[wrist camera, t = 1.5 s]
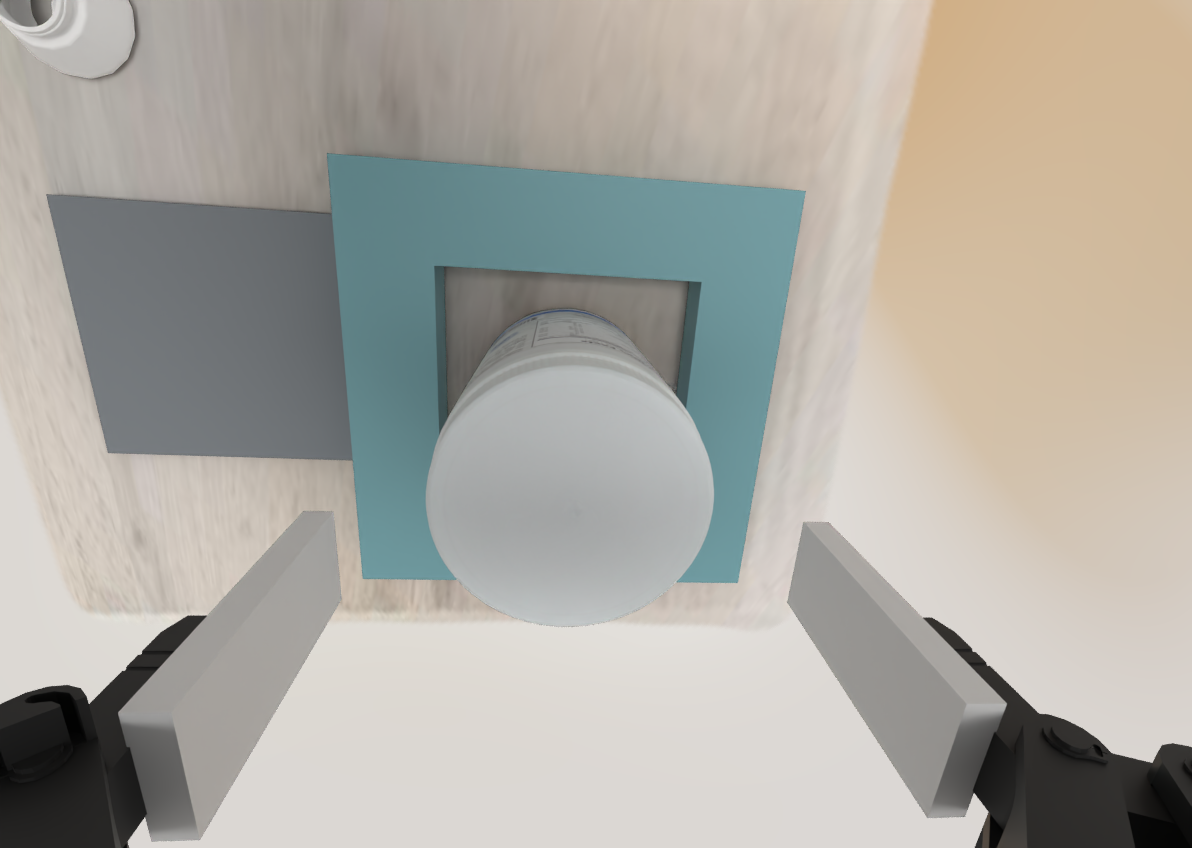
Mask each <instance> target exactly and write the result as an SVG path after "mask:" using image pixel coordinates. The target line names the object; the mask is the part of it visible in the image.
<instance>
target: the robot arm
mask: <svg viewBox="0 0 1192 848" xmlns="http://www.w3.org/2000/svg"><path fill="white" fill-rule="evenodd" d="M341 599H342V598H341V587H340V576H339V566H338V555H337V545H336V534H335V523H334V513H333V512H324V511H303V512H302V513H301V514H300V516H299V517H298V518H297V519H296V520H295V521H294V522H293V523H292V524H291V525H290V526H289V527H288V529H287V530H286V531H285V532H284V533H283V534H282V535H281V536H280V537H279V538H278V539H277V541H276V542H275V543H274V544H273V545H272V546H271V547H270V548H269V549H268V550H267V551H266V552H265V554H264V555H263V556H262V557H261V558H260V559H259V560H258V561H257V562H256V563H255V564H254V565H253V567H252V568H251V569H250V570H249V571H248V572H247V573H246V574H245V575H244V576H243V577H242V579H241V580H240V581H239V582H238V583H237V584H236V585H235V586H234V587H233V588H232V589H231V590H230V592H229V593H228V594H227V595H226V596H225V597H224V598H223V599H222V600H221V601H220V602H219V604H218V605H217V606H216V607H215V608H214V609H213V610H212V611H211V612H210V613H209V614H208V615H207V616H187V617H185V618H183V619H182V620H180V621H178V622H177V623H175V624H174V625H172V626H170V627H169V628H167V629H165V630H164V631H162V632H161V633H160V634H159V635H158V636H157V637H156V638H155V639H154V640H153V641H152V642H151V643H150V644H149V645H148V646H147V647H146V648H145V649H144V650H143V651H142V654H141V655H138V656H137V657H136V658H135V659H134V660H133V661H132V662H131V663H130V664H129V665H128V666H127V667H126V670H125V671H122V672H121V673H120V674H119V675H118V676H117V677H116V678H115V679H114V680H113V681H112V682H111V683H110V684H109V685H108V686H107V687H106V688H105V689H104V690H103V691H102V692H101V693H100V694H99V695H98V696H97V697H96V698H95V699H94V700H93V701H92V702H91V703H90V704H88V700H87V697H86V695H85V694H84V692H83V691H82V690H81V688H77V687H73V686H69V685H63V686H51V687H45V688H42V689H38V690H35V691H31V692H27V693H24V694H22V695H20V696H18V697H15V698H13V699H11V700H9V701H6V702H4V703H2V704H0V848H129V846H128V842H127V841H128V840H129V838H130V837H131V836H132V834H133V833H134V831H135V830H136V829H137V827H138V826H139V824H140V823H141V822H142V820H143V819H144V817H145V818H146V822H147V826H148V830H149V833H150V837H151V841H152V842H153V841H185V840H200V839H201V837H202V836H203V834H204V832H205V831H206V829H207V827H208V825H209V824H210V822H211V820H212V818H213V817H214V815H215V813H216V812H217V810H218V808H219V807H220V805H221V803H222V801H223V800H224V798H225V797H226V795H227V793H228V791H229V790H230V788H231V786H232V785H233V783H234V781H235V779H236V778H237V776H238V774H239V773H240V771H241V769H242V767H243V766H244V764H245V762H246V761H247V759H248V757H249V756H250V754H251V752H252V750H253V749H254V747H255V745H256V744H257V742H258V740H259V739H260V737H261V735H262V734H263V732H264V730H265V728H266V727H267V725H268V723H269V722H270V720H271V718H272V717H273V715H274V713H275V711H276V710H277V708H278V706H279V704H280V703H281V701H282V700H283V698H284V696H285V694H286V693H287V691H288V689H289V688H290V686H291V684H292V683H293V681H294V679H295V677H296V676H297V674H298V672H299V671H300V669H301V667H302V665H303V664H304V662H305V660H306V659H307V657H308V655H309V654H310V652H311V650H312V649H313V647H314V645H315V643H316V642H317V640H318V638H319V637H320V635H321V633H322V632H323V630H324V628H325V626H326V625H327V623H328V621H329V620H330V618H331V616H332V615H333V613H334V611H335V609H336V608H337V606H338V604H339V603H340V601H341ZM787 603H788V604H789V606H790V607H791V609H792V610H793V612H794V613H795V615H796V617H797V618H798V620H799V621H800V623H801V624H802V626H803V627H804V629H805V630H806V632H807V633H808V635H809V637H810V638H811V640H812V641H813V643H814V644H815V646H816V647H817V649H818V650H819V652H820V653H821V655H822V656H823V658H824V659H825V661H826V663H827V664H828V666H829V667H830V669H831V670H832V672H833V673H834V675H835V677H836V678H837V679H838V681H839V683H840V684H841V686H842V687H843V689H844V690H845V692H846V693H847V695H848V696H849V698H850V700H851V701H852V703H853V704H854V706H855V707H856V709H857V710H858V712H859V713H860V715H861V717H862V718H863V720H864V721H865V722H866V724H867V725H868V727H869V729H870V730H871V732H872V733H873V735H874V737H875V738H876V739H877V741H878V743H879V744H880V746H881V747H882V749H883V750H884V752H885V753H886V755H887V757H888V758H889V760H890V761H891V763H892V764H893V766H894V767H895V769H896V770H897V772H898V773H899V775H900V777H901V778H902V780H903V781H904V783H905V784H906V786H907V787H908V789H909V790H910V792H911V793H912V795H913V797H914V798H915V800H916V801H917V803H918V804H919V806H920V807H921V809H922V810H923V812H924V813H925V815H926V816H927V818H942V817H965V815H966V812H967V810H968V807H969V804H970V802H971V799H972V796H973V794H974V793H975V794H976V796H977V797H978V798H979V800H980V801H981V802H982V804H983V805H984V806H985V808H986V809H987V810H988V811H989V813H988V815H987V818H986V821H985V823H984V826H983V828H982V831H981V833H980V836H979V838H978V841H977V843H976V846H975V848H1192V747H1189V746H1183V745H1178V744H1173V743H1172V744H1166V745H1162V746H1161V748H1160V750H1159V751H1158V753H1157V755H1156V757H1155V759H1154V761H1153V763H1150V762H1146V761H1141V760H1137V759H1133V758H1129V757H1125V756H1120V755H1116V754H1112V753H1111V752H1110V751H1109V750H1108V749H1107V748H1106V747H1105V746H1104V745H1103V744H1102V743H1101V742H1100V741H1099V740H1098V739H1097V738H1095V737H1094V736H1092V735H1091V734H1089V733H1088V732H1087V731H1085V730H1084V729H1083V728H1081V727H1079V726H1076V725H1075V724H1072V723H1071V722H1069V721H1066V720H1064V719H1061V718H1058V717H1055V716H1052V715H1048V714H1039V713H1037V711H1036V710H1035V709H1033V707H1032V706H1030V705H1029V704H1028V703H1027V702H1026V701H1025V700H1024V699H1023V698H1022V697H1021V696H1020V695H1019V694H1018V693H1017V692H1016V691H1015V690H1014V689H1013V688H1012V687H1011V686H1010V685H1009V684H1008V683H1007V682H1006V681H1005V680H1004V679H1003V678H1002V677H1001V676H1000V675H999V674H998V673H997V672H995V671H994V670H993V669H992V668H991V667H990V666H987V665H986V662H985V661H984V660H983V659H982V658H981V657H980V656H979V655H978V654H977V653H976V652H973V651H972V648H971V647H970V646H969V645H968V644H967V643H966V642H964V640H963V639H962V638H960V637H959V636H958V635H957V634H956V633H955V632H954V631H952V630H951V629H949V628H948V627H946V626H944V625H943V624H941V623H940V622H938V621H937V620H935V619H933V618H922V617H921V616H920V615H919V614H918V613H917V611H916V610H915V609H914V608H913V607H911V605H910V604H909V603H908V602H907V601H906V600H905V599H904V598H903V597H902V596H901V595H900V594H899V593H898V592H897V591H896V590H895V589H894V588H893V587H892V586H891V585H890V584H889V583H888V582H887V581H886V580H885V579H884V578H883V577H882V576H881V575H880V574H879V573H878V572H877V571H876V570H875V569H874V568H873V567H872V566H871V565H870V564H869V563H868V562H867V561H866V560H865V559H864V558H863V557H862V556H861V555H860V554H859V553H858V551H857V550H856V549H855V548H854V547H853V546H852V545H851V544H850V543H848V541H847V540H846V539H845V538H844V537H843V536H842V535H841V534H840V533H839V532H838V531H837V530H836V529H835V528H834V527H833V526H832V525H831V524H830V523H829V522H803V527H802V532H801V537H800V542H799V547H798V552H797V557H796V562H795V567H794V572H793V577H792V582H791V587H790V591H789V596H788V601H787Z"/></svg>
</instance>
